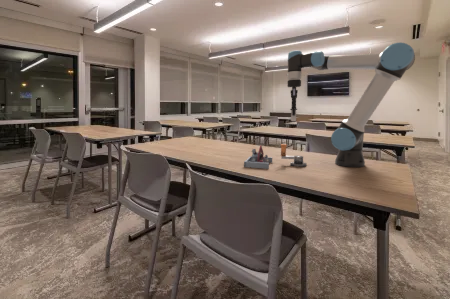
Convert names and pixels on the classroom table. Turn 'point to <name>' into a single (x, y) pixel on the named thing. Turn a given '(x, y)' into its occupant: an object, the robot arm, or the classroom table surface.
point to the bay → (257, 163)
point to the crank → (296, 158)
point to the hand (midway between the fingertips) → (293, 121)
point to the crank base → (298, 164)
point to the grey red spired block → (259, 156)
